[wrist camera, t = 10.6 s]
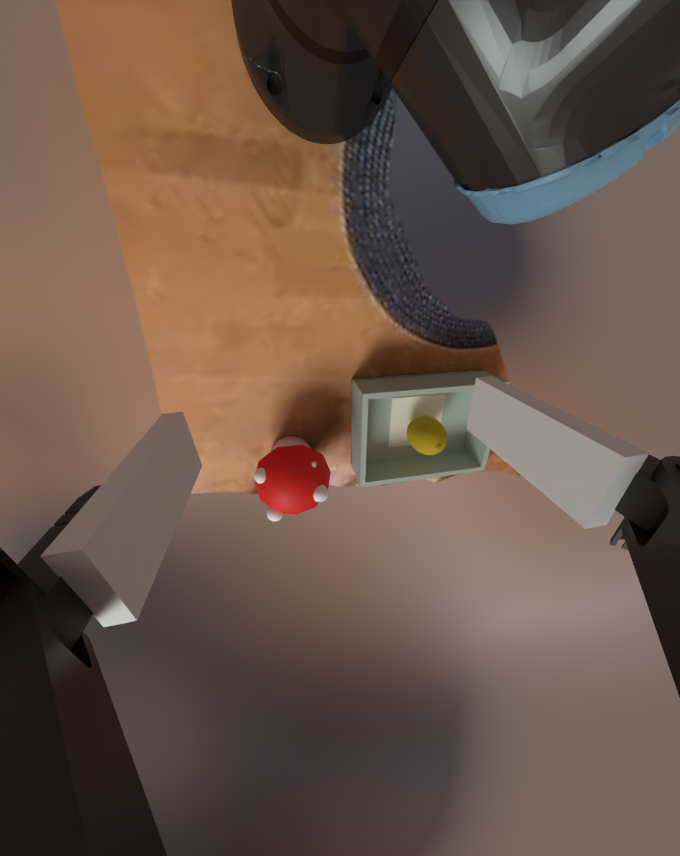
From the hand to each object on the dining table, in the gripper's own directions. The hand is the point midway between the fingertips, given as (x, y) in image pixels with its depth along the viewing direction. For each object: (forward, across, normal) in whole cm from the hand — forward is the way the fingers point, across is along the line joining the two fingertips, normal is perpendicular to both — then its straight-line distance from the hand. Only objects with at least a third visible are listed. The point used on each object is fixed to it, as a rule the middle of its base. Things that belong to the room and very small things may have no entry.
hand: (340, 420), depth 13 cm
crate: (+28, +17, -16) cm, 37 cm away
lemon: (+27, +17, -17) cm, 36 cm away
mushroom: (+28, -4, -20) cm, 35 cm away
